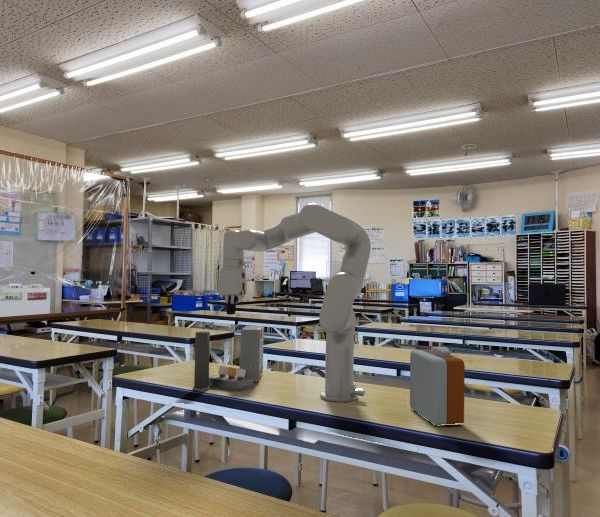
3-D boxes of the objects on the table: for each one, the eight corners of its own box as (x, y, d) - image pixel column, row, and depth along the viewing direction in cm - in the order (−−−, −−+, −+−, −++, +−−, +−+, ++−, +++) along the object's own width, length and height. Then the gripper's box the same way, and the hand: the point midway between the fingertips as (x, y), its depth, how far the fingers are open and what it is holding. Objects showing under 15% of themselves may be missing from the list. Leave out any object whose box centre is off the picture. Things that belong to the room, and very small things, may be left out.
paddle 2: (235, 378, 171) (237, 368, 172) (230, 377, 168) (232, 367, 169) (231, 377, 171) (233, 368, 173) (226, 376, 169) (228, 366, 170)
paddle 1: (243, 379, 169) (245, 370, 170) (239, 378, 166) (241, 368, 167) (239, 379, 170) (241, 369, 171) (235, 378, 167) (237, 368, 168)
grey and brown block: (465, 427, 128) (465, 352, 129) (435, 428, 127) (436, 352, 128) (435, 407, 147) (435, 342, 147) (408, 408, 145) (409, 342, 146)
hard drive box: (259, 383, 175) (260, 329, 176) (238, 382, 176) (239, 329, 176) (263, 374, 191) (264, 325, 192) (244, 373, 191) (245, 325, 192)
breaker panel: (253, 386, 170) (253, 377, 170) (238, 391, 162) (239, 382, 162) (222, 381, 177) (222, 372, 177) (207, 386, 169) (207, 377, 169)
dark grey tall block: (212, 388, 166) (214, 332, 166) (202, 391, 161) (203, 333, 161) (200, 386, 168) (201, 331, 169) (189, 389, 163) (191, 332, 164)
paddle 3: (226, 377, 173) (228, 367, 174) (221, 375, 170) (223, 366, 171) (222, 376, 173) (224, 367, 174) (217, 375, 171) (219, 365, 172)
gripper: (255, 265, 171) (253, 315, 170) (222, 264, 178) (221, 312, 178) (243, 264, 164) (241, 316, 164) (210, 263, 171) (208, 313, 171)
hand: (230, 314), depth 171 cm, fingers closed
